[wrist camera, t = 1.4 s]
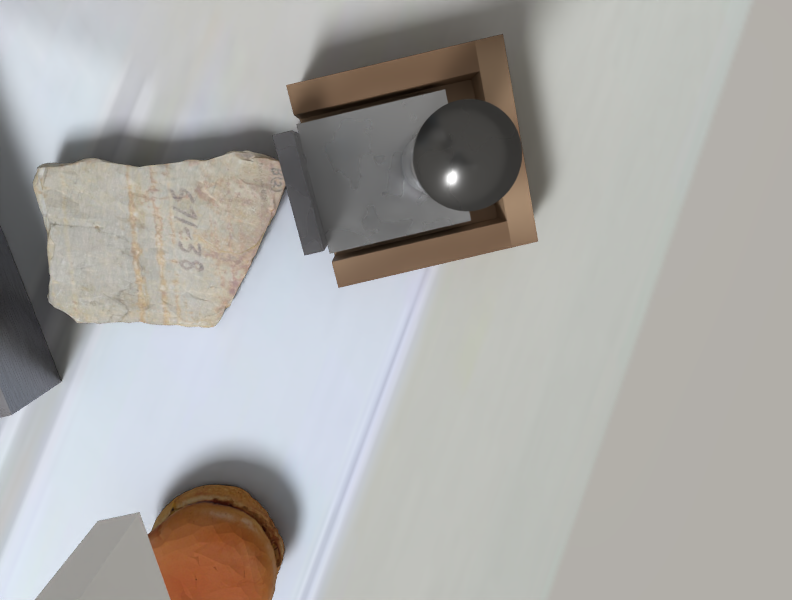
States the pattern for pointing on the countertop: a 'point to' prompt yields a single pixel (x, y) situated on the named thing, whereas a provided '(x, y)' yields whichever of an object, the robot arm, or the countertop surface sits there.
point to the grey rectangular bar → (20, 342)
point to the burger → (217, 546)
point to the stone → (154, 235)
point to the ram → (396, 169)
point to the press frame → (462, 79)
